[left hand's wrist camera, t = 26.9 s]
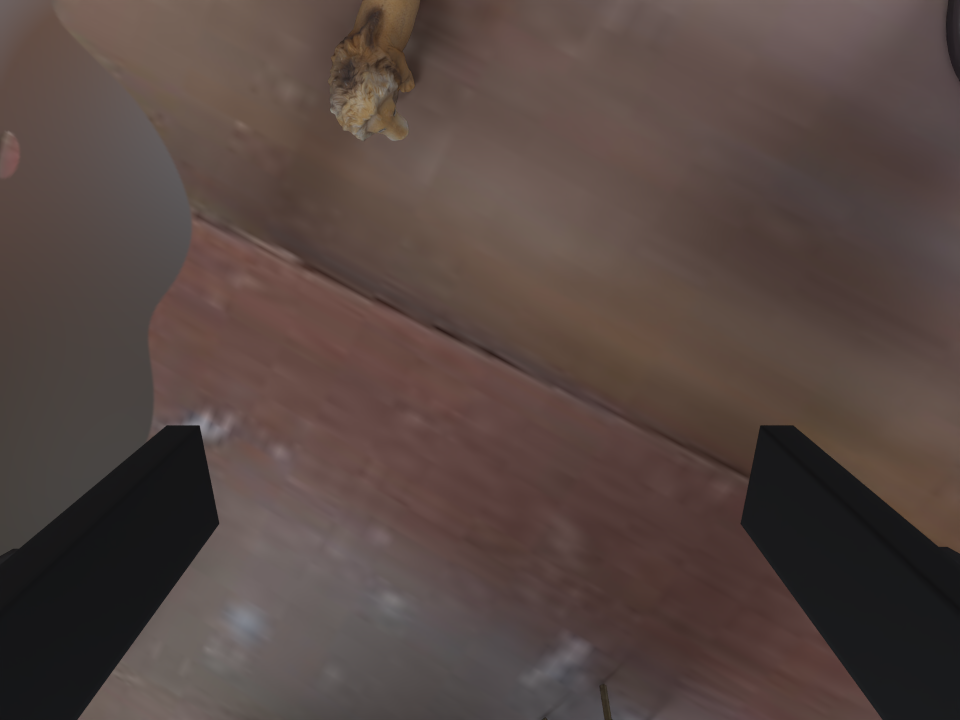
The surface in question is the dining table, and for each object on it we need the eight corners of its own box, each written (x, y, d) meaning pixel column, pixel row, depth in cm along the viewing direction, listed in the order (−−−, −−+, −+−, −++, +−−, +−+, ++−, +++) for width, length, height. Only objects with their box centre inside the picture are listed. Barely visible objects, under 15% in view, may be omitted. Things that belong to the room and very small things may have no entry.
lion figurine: (415, 156, 38) (396, 153, 29) (341, 131, 37) (300, 121, 29) (479, -88, 33) (478, -175, 24) (395, -121, 32) (365, -221, 24)
